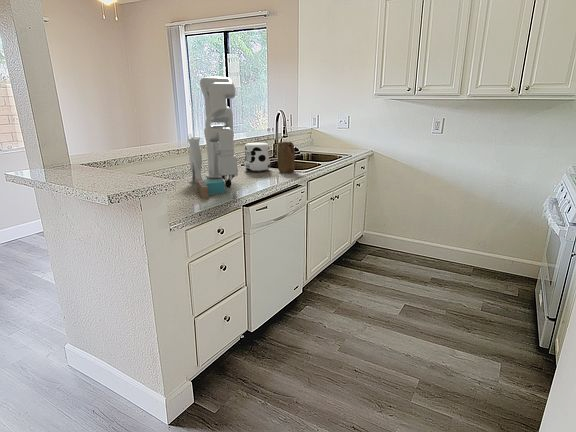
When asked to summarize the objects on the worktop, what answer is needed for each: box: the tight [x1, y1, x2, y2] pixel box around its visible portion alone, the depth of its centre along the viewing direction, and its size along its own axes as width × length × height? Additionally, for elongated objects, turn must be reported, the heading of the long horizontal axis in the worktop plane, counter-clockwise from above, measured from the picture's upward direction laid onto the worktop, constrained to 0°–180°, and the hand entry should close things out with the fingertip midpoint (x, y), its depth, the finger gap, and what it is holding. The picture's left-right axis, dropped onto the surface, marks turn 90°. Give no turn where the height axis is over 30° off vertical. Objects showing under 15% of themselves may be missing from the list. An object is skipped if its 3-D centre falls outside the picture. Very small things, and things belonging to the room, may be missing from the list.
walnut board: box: [196, 178, 210, 200], centre depth 199 cm, size 20×3×6 cm, turn 21°
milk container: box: [244, 142, 271, 173], centre depth 255 cm, size 17×17×18 cm
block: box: [277, 141, 296, 174], centre depth 250 cm, size 11×8×20 cm
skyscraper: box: [187, 133, 204, 185], centre depth 221 cm, size 8×8×28 cm
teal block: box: [203, 178, 226, 195], centre depth 203 cm, size 8×10×6 cm
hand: (228, 187), depth 204 cm, fingers closed
